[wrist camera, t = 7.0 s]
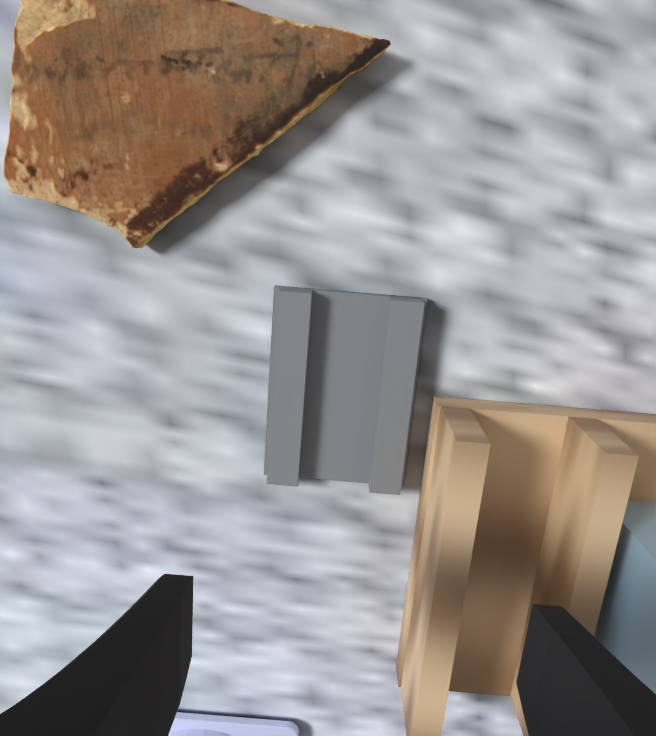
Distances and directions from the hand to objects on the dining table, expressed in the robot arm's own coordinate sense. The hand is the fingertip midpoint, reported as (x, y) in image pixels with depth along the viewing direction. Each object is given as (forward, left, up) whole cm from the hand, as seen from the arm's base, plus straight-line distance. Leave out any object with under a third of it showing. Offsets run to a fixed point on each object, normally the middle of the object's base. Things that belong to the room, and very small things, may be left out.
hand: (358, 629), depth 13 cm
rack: (-4, -10, -10) cm, 15 cm away
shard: (+12, +7, -11) cm, 18 cm away
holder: (+2, 0, -10) cm, 10 cm away
